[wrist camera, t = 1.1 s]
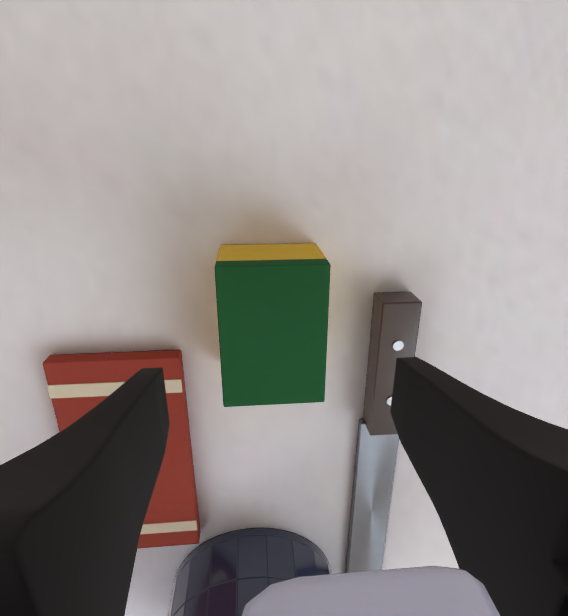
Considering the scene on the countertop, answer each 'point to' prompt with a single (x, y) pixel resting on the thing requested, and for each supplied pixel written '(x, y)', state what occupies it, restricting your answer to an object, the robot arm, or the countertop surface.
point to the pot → (241, 570)
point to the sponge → (272, 323)
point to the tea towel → (178, 455)
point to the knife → (379, 428)
